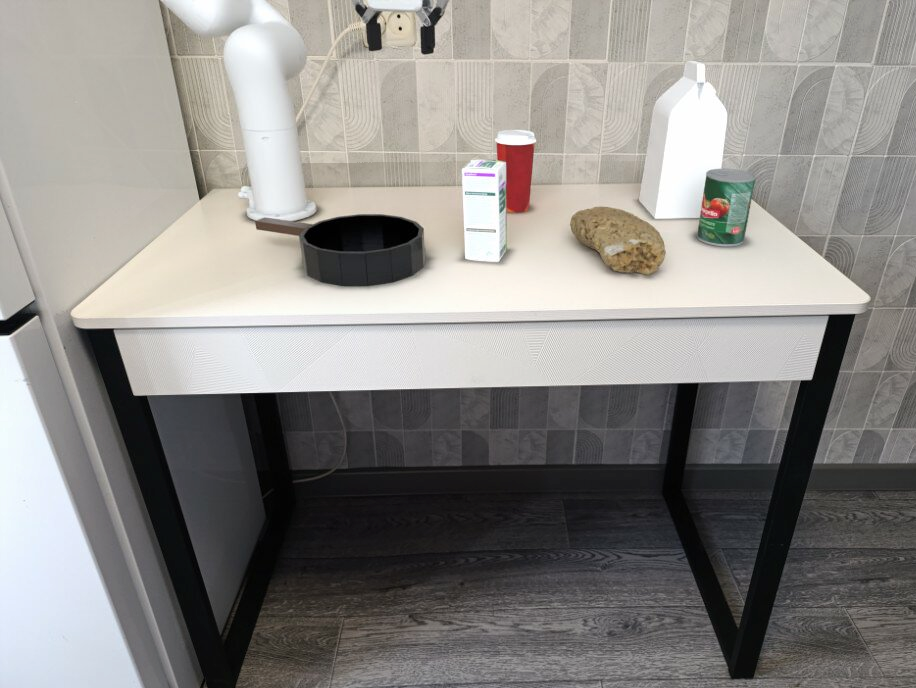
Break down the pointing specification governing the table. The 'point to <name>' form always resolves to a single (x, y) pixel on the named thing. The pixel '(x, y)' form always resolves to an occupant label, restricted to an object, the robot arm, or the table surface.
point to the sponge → (620, 239)
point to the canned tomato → (725, 207)
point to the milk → (683, 146)
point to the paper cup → (517, 166)
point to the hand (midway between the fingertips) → (401, 52)
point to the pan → (356, 247)
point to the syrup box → (484, 210)
